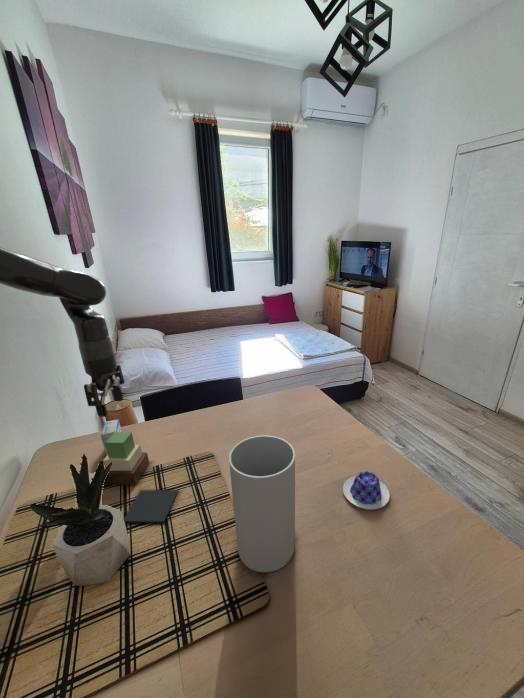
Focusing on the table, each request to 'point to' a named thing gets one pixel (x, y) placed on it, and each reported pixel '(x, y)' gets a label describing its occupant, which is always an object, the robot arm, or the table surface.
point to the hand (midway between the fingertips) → (111, 408)
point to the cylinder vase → (264, 501)
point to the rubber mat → (151, 507)
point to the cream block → (124, 460)
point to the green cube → (119, 445)
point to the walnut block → (128, 473)
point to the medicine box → (109, 430)
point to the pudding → (366, 491)
